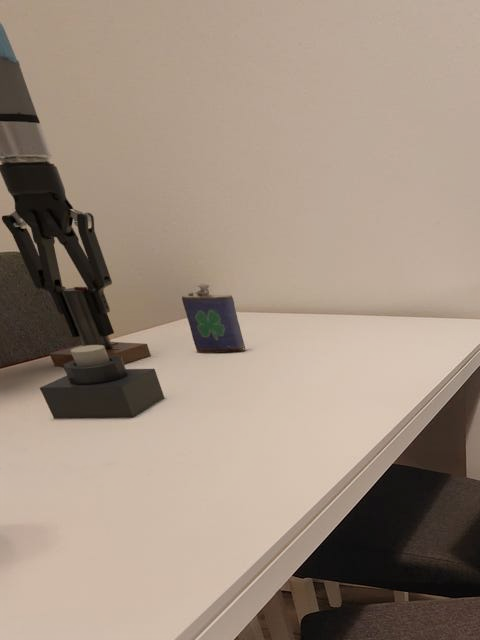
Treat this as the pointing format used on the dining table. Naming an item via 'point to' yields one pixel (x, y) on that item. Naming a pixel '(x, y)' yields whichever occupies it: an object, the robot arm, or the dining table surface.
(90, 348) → the white short cylinder
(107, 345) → the black tall block
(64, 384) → the button base
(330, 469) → the dining table surface
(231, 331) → the flask
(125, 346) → the brown wooden flat block
